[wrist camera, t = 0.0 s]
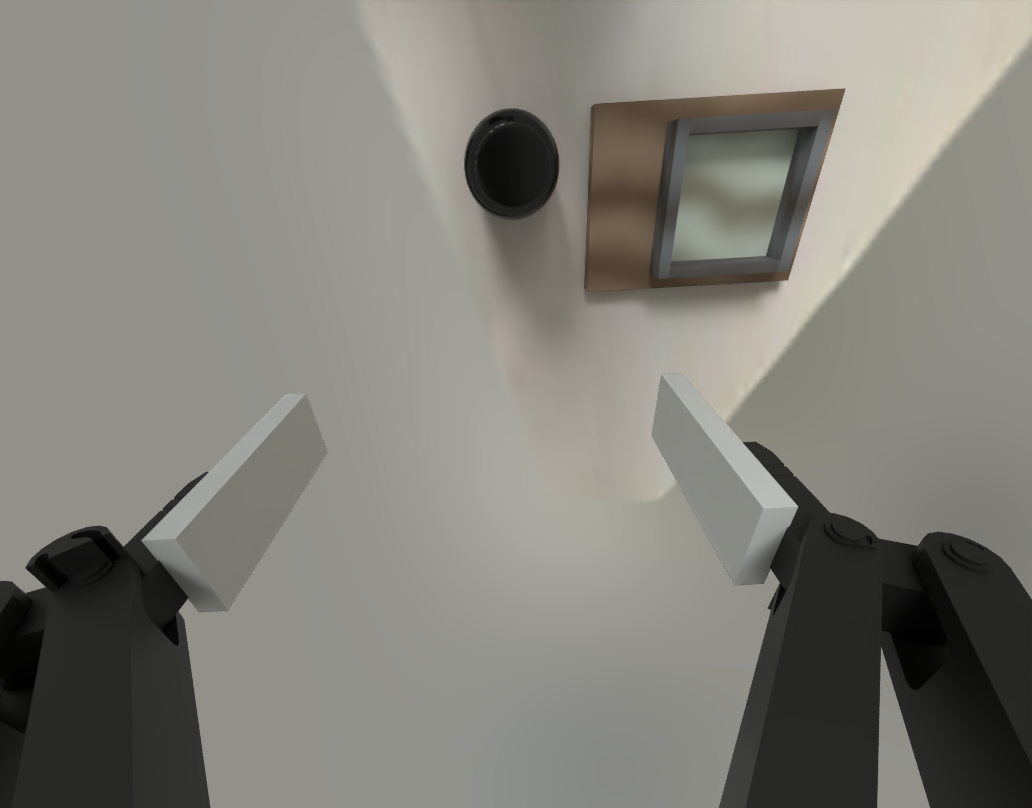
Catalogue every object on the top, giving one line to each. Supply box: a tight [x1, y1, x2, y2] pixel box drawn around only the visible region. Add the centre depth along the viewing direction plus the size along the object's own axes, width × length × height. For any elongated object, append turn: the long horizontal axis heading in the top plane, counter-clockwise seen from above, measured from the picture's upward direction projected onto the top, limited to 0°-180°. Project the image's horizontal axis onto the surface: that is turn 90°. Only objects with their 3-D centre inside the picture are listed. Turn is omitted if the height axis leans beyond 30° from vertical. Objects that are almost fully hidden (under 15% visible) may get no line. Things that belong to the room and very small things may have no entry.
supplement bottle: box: [464, 108, 559, 220], centre depth 29 cm, size 7×7×12 cm
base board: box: [585, 89, 845, 292], centre depth 35 cm, size 15×20×4 cm
